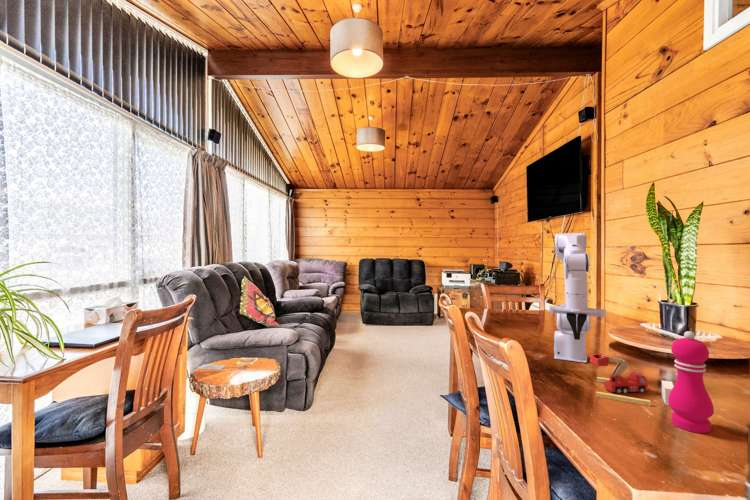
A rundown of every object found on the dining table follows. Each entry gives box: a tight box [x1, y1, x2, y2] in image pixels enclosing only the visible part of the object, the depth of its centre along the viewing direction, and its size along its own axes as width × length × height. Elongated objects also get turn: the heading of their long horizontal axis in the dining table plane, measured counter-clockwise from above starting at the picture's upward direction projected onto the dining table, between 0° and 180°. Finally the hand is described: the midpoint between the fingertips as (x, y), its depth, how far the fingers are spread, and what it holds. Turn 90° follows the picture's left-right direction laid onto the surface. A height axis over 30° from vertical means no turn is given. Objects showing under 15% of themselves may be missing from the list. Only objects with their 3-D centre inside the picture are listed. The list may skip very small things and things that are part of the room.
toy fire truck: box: [589, 353, 649, 394], centre depth 95 cm, size 3×14×10 cm, turn 92°
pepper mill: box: [668, 330, 715, 434], centre depth 76 cm, size 7×7×20 cm
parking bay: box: [595, 376, 675, 407], centre depth 93 cm, size 16×13×4 cm
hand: (577, 338), depth 108 cm, fingers closed
